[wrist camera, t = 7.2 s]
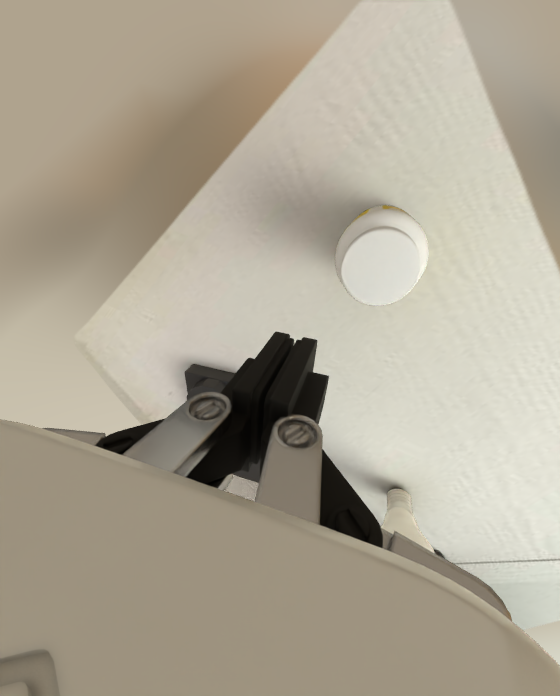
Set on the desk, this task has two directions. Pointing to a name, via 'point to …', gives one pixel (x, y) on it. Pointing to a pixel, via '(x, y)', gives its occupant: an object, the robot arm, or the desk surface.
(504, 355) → the desk surface
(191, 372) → the dark grey button base
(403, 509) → the lightbulb
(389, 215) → the supplement bottle
